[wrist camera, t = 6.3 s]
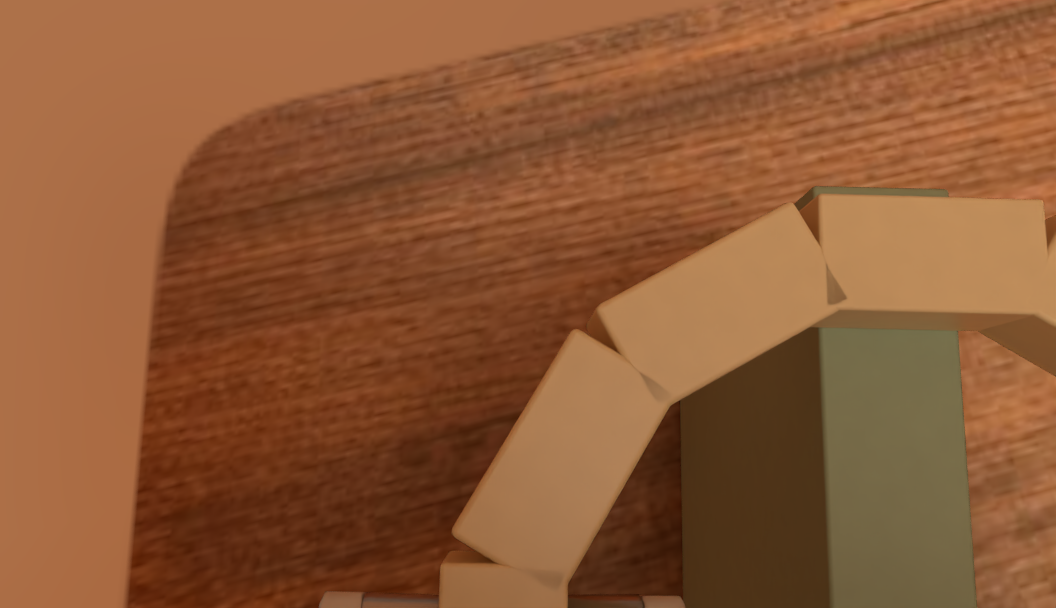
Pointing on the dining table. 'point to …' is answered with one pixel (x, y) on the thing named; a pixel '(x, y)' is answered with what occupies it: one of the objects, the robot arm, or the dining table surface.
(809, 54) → the dining table surface
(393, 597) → the robot arm
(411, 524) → the dining table surface
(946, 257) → the segmented block ring
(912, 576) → the olive green rectangular slab
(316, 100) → the dining table surface
